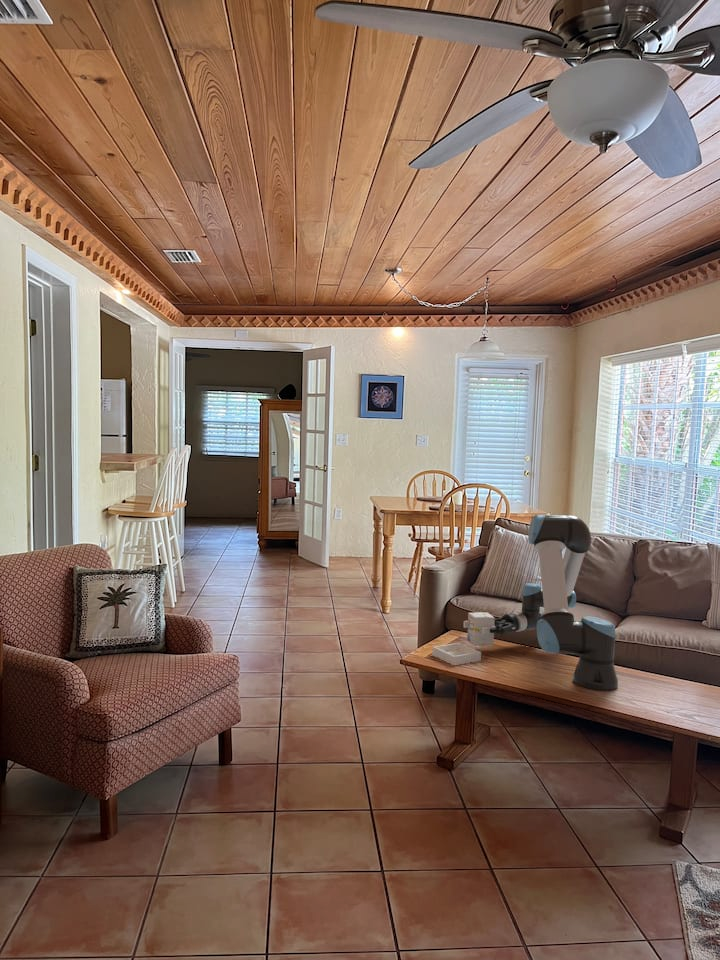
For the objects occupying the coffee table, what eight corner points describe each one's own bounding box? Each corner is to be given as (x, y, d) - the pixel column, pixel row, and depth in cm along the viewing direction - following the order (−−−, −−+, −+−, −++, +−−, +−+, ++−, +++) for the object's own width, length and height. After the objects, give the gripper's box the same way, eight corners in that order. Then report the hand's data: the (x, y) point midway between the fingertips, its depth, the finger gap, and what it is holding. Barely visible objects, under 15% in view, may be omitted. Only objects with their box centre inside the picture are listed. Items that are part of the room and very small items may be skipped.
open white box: (480, 660, 257) (481, 652, 257) (453, 665, 250) (454, 656, 250) (458, 651, 268) (459, 642, 268) (432, 655, 261) (432, 646, 261)
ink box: (466, 640, 271) (467, 611, 270) (486, 639, 272) (487, 611, 272) (474, 646, 262) (475, 617, 262) (494, 645, 264) (495, 616, 264)
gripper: (533, 638, 267) (492, 644, 255) (494, 624, 286) (454, 630, 275) (534, 620, 266) (493, 625, 255) (494, 607, 286) (455, 612, 275)
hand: (473, 627), depth 265 cm, fingers closed on ink box, 10 cm apart
